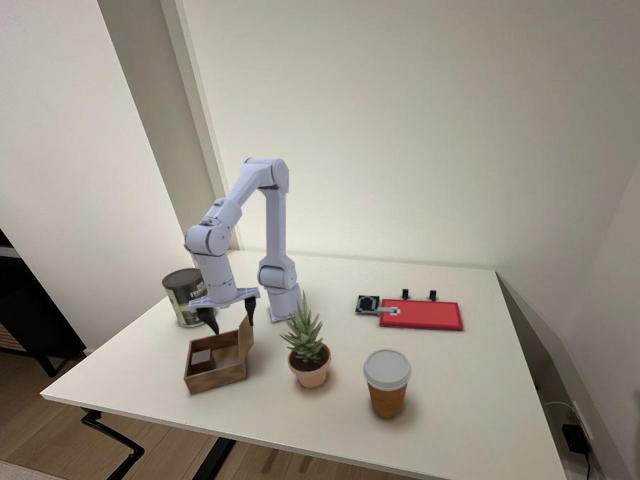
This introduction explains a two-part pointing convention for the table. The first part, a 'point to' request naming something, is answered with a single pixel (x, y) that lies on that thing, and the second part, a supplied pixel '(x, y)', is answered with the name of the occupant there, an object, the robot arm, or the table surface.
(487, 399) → the table surface
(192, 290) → the coffee can
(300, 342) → the potted plant
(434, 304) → the red board with handle
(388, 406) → the disposable coffee cup
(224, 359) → the wooden box
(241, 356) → the flap
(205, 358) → the block
